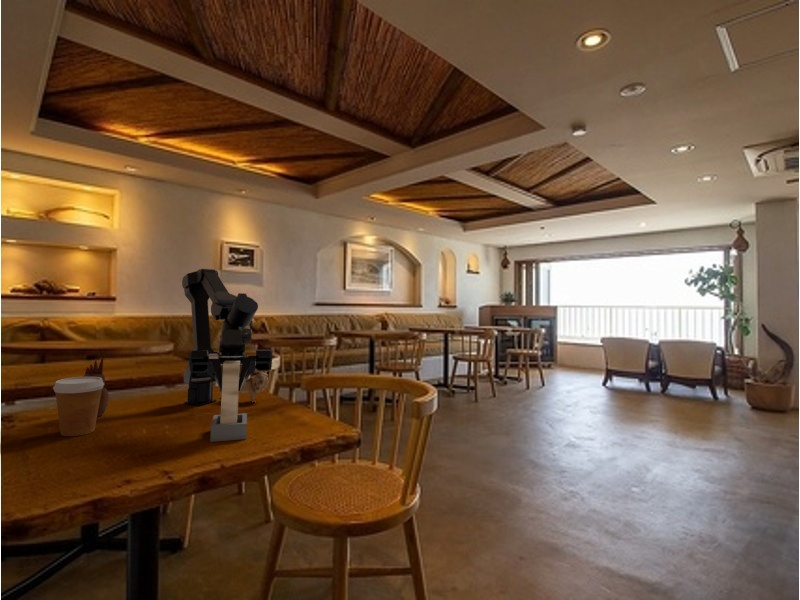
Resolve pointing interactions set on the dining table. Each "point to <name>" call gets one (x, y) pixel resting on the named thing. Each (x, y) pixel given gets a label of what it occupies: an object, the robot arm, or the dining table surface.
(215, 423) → the end cap
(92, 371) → the wooden figurine
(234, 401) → the slat
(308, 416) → the dining table surface
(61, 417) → the disposable coffee cup
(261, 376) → the lion figurine
